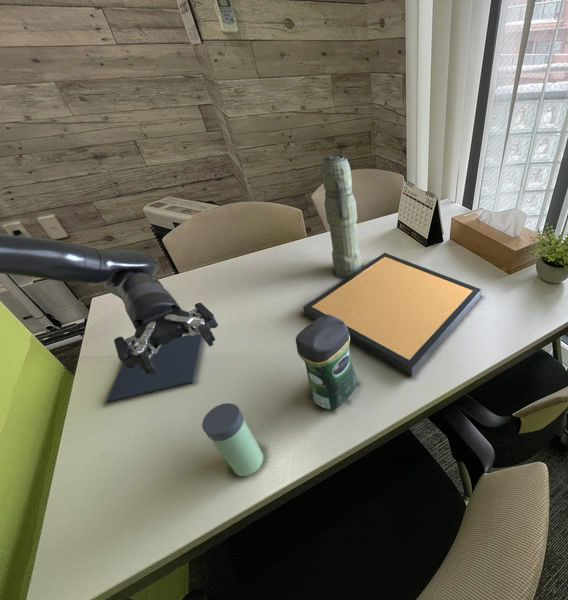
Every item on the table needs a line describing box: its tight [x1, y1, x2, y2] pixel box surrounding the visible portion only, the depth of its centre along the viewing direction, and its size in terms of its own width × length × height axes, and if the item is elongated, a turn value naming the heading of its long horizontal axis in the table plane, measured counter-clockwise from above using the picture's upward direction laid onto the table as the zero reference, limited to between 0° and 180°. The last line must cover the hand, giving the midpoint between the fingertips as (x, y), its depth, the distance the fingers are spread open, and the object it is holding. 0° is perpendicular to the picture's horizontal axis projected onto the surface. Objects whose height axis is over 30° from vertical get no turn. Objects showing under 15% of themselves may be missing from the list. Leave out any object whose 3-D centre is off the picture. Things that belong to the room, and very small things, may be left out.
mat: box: [106, 334, 203, 404], centre depth 75 cm, size 16×16×1 cm
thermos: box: [321, 154, 363, 279], centre depth 94 cm, size 9×12×35 cm
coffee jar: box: [295, 314, 358, 410], centre depth 63 cm, size 10×8×19 cm
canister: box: [201, 402, 264, 477], centre depth 53 cm, size 5×5×14 cm
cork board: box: [302, 252, 483, 377], centre depth 90 cm, size 36×3×35 cm
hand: (182, 355), depth 52 cm, fingers open, 8 cm apart
